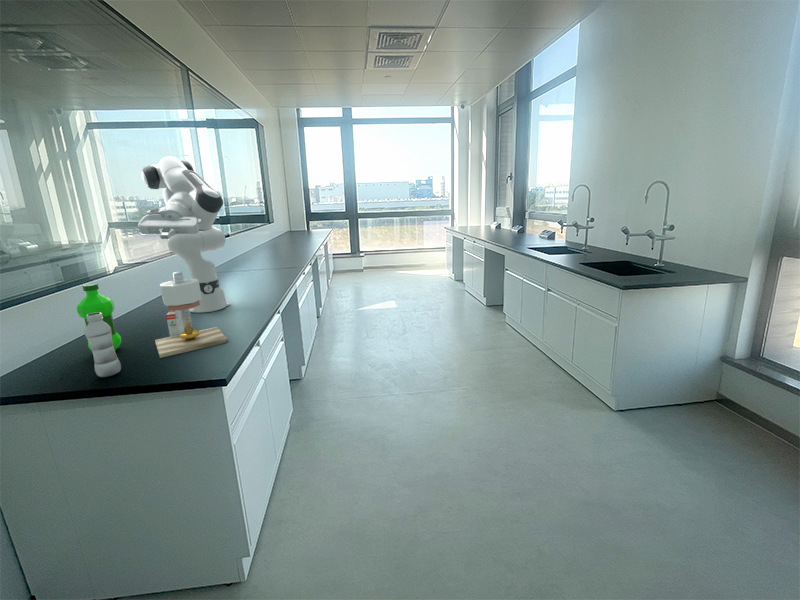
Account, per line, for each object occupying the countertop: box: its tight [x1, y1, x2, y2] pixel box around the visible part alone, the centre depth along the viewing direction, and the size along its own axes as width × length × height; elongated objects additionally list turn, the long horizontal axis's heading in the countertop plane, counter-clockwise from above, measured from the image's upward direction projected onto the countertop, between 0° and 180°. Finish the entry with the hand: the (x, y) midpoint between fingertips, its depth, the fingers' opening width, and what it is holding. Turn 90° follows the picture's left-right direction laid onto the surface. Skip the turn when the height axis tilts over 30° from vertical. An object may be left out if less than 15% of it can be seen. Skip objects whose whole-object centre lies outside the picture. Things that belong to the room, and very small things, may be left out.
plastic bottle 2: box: [84, 312, 122, 378], centre depth 120 cm, size 6×7×20 cm
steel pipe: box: [172, 271, 199, 341], centre depth 144 cm, size 6×6×26 cm
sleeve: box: [159, 278, 202, 307], centre depth 142 cm, size 12×12×7 cm
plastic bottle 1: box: [76, 283, 122, 352], centre depth 140 cm, size 10×10×25 cm
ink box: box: [165, 310, 184, 337], centre depth 155 cm, size 4×8×15 cm, turn 17°
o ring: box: [167, 301, 200, 311], centre depth 144 cm, size 10×10×2 cm
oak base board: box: [154, 326, 228, 359], centre depth 147 cm, size 18×22×2 cm
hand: (164, 237), depth 143 cm, fingers closed
